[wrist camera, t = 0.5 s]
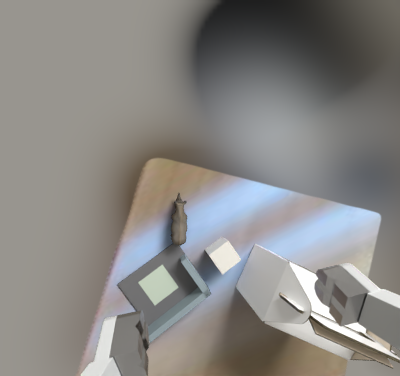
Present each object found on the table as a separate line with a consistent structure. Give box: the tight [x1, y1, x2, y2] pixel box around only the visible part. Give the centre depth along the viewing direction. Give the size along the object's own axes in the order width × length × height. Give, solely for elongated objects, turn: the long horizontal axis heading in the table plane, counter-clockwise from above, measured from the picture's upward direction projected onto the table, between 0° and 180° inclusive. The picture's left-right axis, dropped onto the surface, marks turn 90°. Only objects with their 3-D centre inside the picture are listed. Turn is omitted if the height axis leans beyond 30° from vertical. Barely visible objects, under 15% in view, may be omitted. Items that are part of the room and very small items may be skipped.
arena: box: [118, 243, 211, 342], centre depth 55 cm, size 15×18×5 cm
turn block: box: [205, 237, 241, 275], centre depth 57 cm, size 6×6×6 cm
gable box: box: [236, 244, 400, 368], centre depth 49 cm, size 22×13×28 cm, turn 64°
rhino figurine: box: [171, 193, 187, 246], centre depth 56 cm, size 4×14×6 cm, turn 179°
